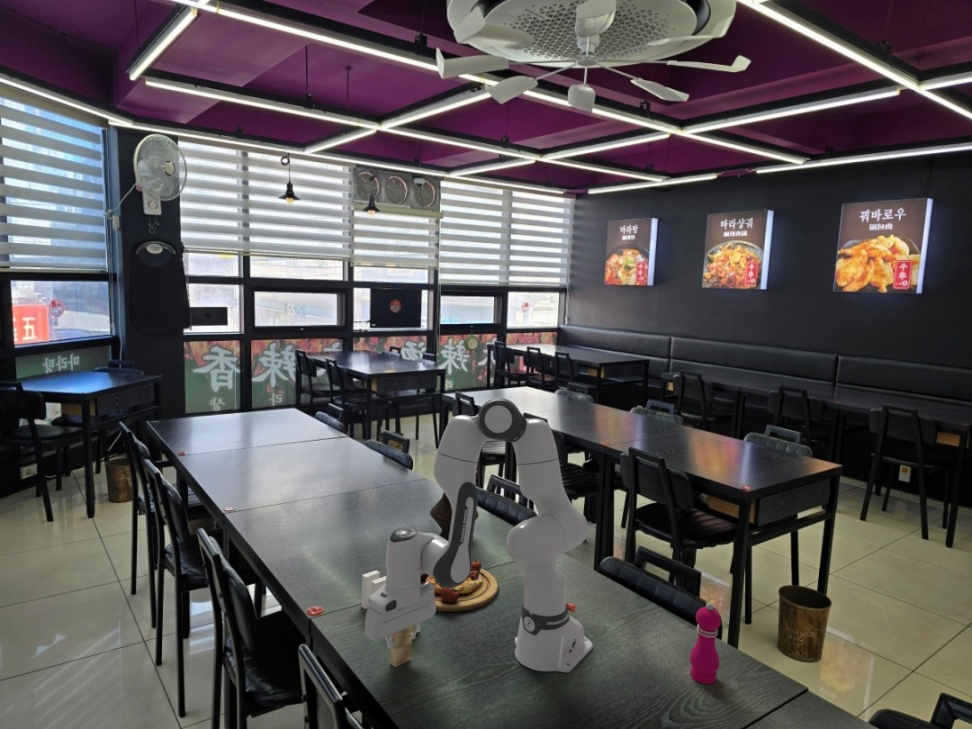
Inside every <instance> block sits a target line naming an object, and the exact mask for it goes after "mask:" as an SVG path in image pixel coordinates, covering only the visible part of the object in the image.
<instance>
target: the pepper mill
mask: <svg viewBox="0 0 972 729" xmlns="http://www.w3.org/2000/svg"><path fill="white" fill-rule="evenodd" d="M695 620H696V623H697V625H696V631H697V633H698V634H697V635H698V636H697V641H696V642H695V644H694V646H693V648H692V649H691V652H690V654H689V662H690V664H691V666H690V673H689V674H690V676H691V678H692V679H693V680H694V681H696V682H698V683H701V684H704V685H711V684H713V683H716V680H717V671H719V668H720V656H719V654H718V651H717V648H716V637H717V636H718V634H719V633H718V632H719V629H718V628H719V627H720V626H721V624H722V618H721V614H720V613H719V611H717V610H716V609H715V608H714V605H713V603H711V602H706V605H705V606H704V607H700V608H699V609H698V610H697V611H696V615H695Z"/></svg>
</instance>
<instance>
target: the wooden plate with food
mask: <svg viewBox="0 0 972 729" xmlns="http://www.w3.org/2000/svg"><path fill="white" fill-rule="evenodd" d="M427 582H430V583H433V585H434V587H435V591H434V595H435V601H436V612H445V613H446V612H450V613H451V612H453V613H454V612H466V611H471V610H474V609H478V608H481V607H483V606H486V605H487V604H490V602H492V601H493V600H494V599H495V598H496V596H497V594H498V593H499V584H498V583H499V582H498V581H497V579H496V578H495V577H494V576H493V574H492V573H491V572H489V571H487V570H485V569H484V568H482V563H481V562H480V561H479V560H477V559H475V560H472V568H471V572H470V575H469V577H468V578H467V579H466V581H465V582H464V583H462V584H461V585H459V586H457V587H454V588H444V587H443V586H441V585H440V584H439V583H438V582H437V581H436V580H435V579H434V578H433V577H431V576H430V575H428V574H427V573H425V574H422V575H421V577H420V585H422V584H425V583H427Z"/></svg>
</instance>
